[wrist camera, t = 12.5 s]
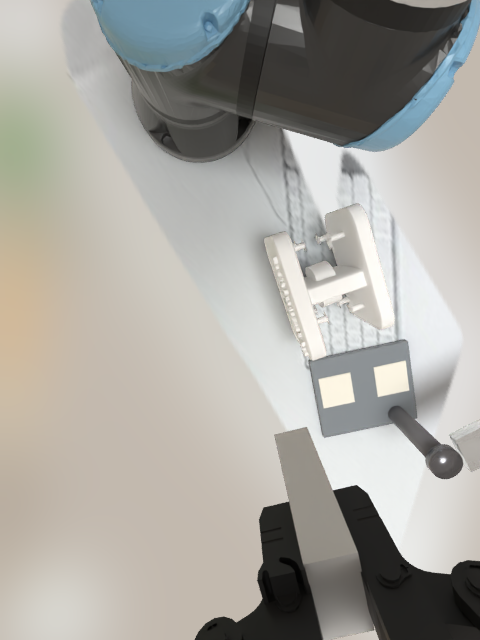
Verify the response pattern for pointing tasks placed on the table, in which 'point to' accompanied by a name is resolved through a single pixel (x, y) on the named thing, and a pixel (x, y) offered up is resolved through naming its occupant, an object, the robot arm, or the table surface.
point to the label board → (368, 392)
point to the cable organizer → (331, 278)
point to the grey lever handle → (456, 453)
